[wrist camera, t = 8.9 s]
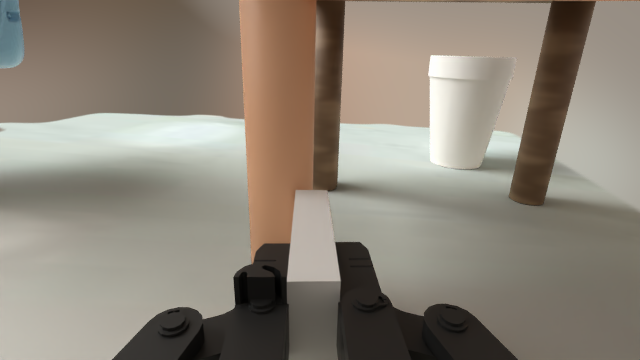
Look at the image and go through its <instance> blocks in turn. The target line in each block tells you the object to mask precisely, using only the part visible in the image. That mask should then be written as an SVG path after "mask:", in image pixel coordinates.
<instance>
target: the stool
mask: <svg viewBox="0 0 640 360" xmlns="http://www.w3.org/2000/svg"><path fill="white" fill-rule="evenodd" d="M345 1H404V2H405V1H406V2H505V3H506V2H507V3H512V2H513V3H551V8H550V12H549V16H548V21H547V26H546V30H545V35H544V39H543V44H542V48H541V53H540V57H539V62H538V67H537V71H536V76H535V80H534V84H533V89H532V94H531V98H530V103H529V107H528V112H527V116H526V121H525V125H524V130H523V135H522V139H521V143H520V148H519V152H518V157H517V161H516V166H515V171H514V175H513V180H512V184H511V189H510V193H509V198H510V199H512V200H514V201H516V202H519V203H522V204H527V205H542V204H543V203H544V200H545V196H546V192H547V188H548V184H549V181H550V177H551V173H552V169H553V165H554V161H555V157H556V153H557V150H558V146H559V142H560V138H561V134H562V130H563V126H564V122H565V119H566V115H567V111H568V107H569V103H570V99H571V95H572V92H573V87H574V84H575V80H576V76H577V72H578V68H579V64H580V60H581V57H582V53H583V49H584V45H585V41H586V37H587V33H588V30H589V26H590V22H591V18H592V14H593V10H594V6H595V2H596V1H481V0H316V45H315V100H314V154H313V190H327V191H330V190H334V189H336V188H337V178H338V154H339V131H340V108H341V107H340V105H341V84H342V61H343V38H344V15H345Z"/></svg>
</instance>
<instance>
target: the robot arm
mask: <svg viewBox="0 0 640 360" xmlns="http://www.w3.org/2000/svg"><path fill="white" fill-rule="evenodd" d="M19 14H20V11H19V2H18V0H0V68H12V67H15V66H17V65H19V64H20V63H21V62H22V60H23V58H24V40H23V31H22V24H21V18H20V15H19ZM233 278H234V292H235V308H234V309H233V310H231V311H229V312H227V313H225V314H222V315H219V316H216V317H211V318H207V319H203V320H202V315H201V314H200V313H199V312H198V311H197V310H195V309H192V308H188V307H178V308H173V309H169V310H166V311H164V312H162V313H160V314H158V315H156V316H155V317H154V318H152V319H151V320H150V321H149V322H148V323H147V324H146V325H145V326H144V327H143V328H142V329H141V330H140V331H139V332H138V333H137V334H136V335H135V336H134V337H133V338H132V339H131V340H130V342H129V343H128V344H127V345H126V346H125V347H124V348H123V349H122V350H121V351H120V352H119V353H118V354H117V355H116V356H115V357H114V358H113V359H112V360H337V358H338V360H518V359H517V358H516V357H515V356H514V355H513V354H512V353H511V352H510V351H509V350H508V349H507V348H506V347H505V346H504V345H503V344H502V343H501V342H500V341H499V340H498V339H497V338H496V337H495V336H494V335H493V334H492V333H491V332H490V331H489V330H488V329H487V328H486V327H485V326H484V325H483V324H482V323H481V322H480V321H479V320H478V319H477V318H476V317H475V316H473V315H472V314H471V313H469V312H468V311H467V310H464V309H462V308H460V307H458V306H454V305H449V304H436V305H433V306H430V307H428V309H427V310H426V311H425V312H424V316H419V315H415V314H410V313H407V312H403V311H400V310H398V309H396V308H394V307H393V306H392V303H391V301H390V300H389V298H388V297H387V296H386V295H384V294H383V293H381V289H380V286H379V283H378V280H377V277H376V273H375V270H374V267H373V264H372V261H371V257H370V254H369V251H368V249H367V248H366V247H365V246H364V245H362V244H361V243H360V242H335V239H334V232H333V225H332V218H331V211H330V204H329V198H328V191H327V190H296V191H295V201H294V212H293V222H292V232H291V243H264V244H263V245H262V246H261V247H260V248H259V249H258V250H257V251H256V253H255V257H254V262H253V264H251V265H248V266H245V267H243V268H242V269H240V270H239V271H237V273H236V274H235V276H234V277H233Z"/></svg>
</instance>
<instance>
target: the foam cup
mask: <svg viewBox="0 0 640 360" xmlns="http://www.w3.org/2000/svg"><path fill="white" fill-rule="evenodd" d="M516 59H517V58H508V57H473V56H471V57H470V56H434V55H433V56H432V55H431V58H430V66H429V74H428V75H429V76H430V161H431V162H433V163H434V164H436V165H440V166H443V167H447V168H454V169H476V168H478V167H480V166H481V163H482V161H483V159H484V156H485V153H486V150H487V147H488V144H489V141H490V138H491V135H492V132H493V130H494V126H495V124H496V120H497V118H498V115H499V112H500V109H501V106H502V103H503V100H504V97H505V94H506V91H507V88H508V85H509V82H510V80H511V79H513V74H514V69H515V64H516Z"/></svg>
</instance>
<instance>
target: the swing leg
mask: <svg viewBox="0 0 640 360" xmlns="http://www.w3.org/2000/svg"><path fill="white" fill-rule="evenodd" d="M481 1H640V0H481ZM239 9H240V30H241V50H242V71H243V93H244V112H245V134H246V155H247V176H248V197H249V218H250V239H251V260H252V264H253V262H254V257H255V253H256V251H257V250H258V249H259V248H260V247H261V246H262V245H263V244H264V243H291V232H292V222H293V212H294V201H295V191H296V190H313V154H314V100H315V45H316V0H239Z"/></svg>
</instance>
